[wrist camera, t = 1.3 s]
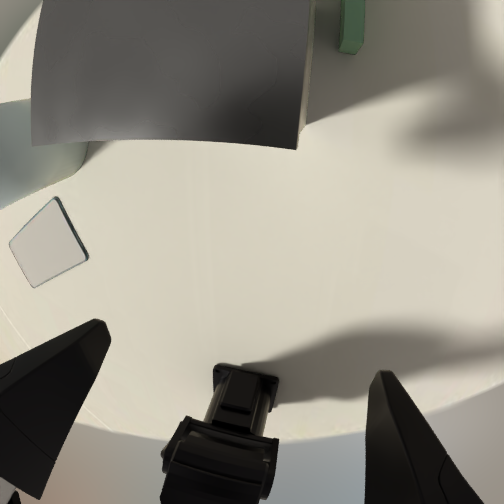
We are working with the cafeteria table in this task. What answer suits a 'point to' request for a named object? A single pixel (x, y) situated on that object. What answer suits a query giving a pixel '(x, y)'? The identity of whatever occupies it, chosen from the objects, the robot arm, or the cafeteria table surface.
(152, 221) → the cafeteria table surface
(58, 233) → the smartphone
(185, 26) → the tin
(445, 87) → the cafeteria table surface
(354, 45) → the bay
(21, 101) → the round-topped grey cylinder
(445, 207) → the cafeteria table surface
